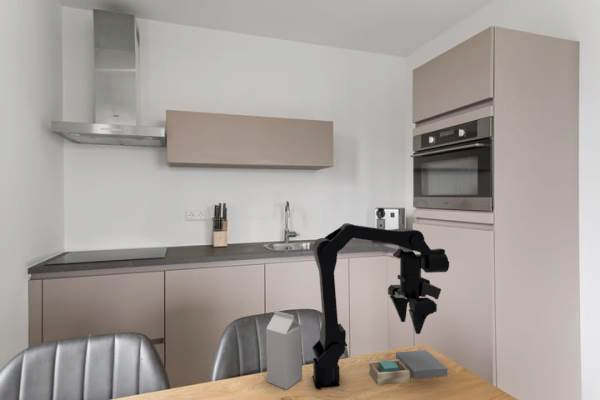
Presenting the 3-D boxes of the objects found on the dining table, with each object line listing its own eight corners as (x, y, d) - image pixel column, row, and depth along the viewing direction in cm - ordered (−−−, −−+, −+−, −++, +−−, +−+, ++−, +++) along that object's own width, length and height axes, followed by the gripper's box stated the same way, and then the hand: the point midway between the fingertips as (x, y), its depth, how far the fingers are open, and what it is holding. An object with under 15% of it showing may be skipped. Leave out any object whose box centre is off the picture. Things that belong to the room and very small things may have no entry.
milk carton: (286, 390, 91) (285, 319, 91) (266, 382, 96) (265, 314, 96) (302, 379, 97) (301, 311, 97) (283, 371, 101) (282, 307, 101)
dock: (414, 380, 95) (413, 371, 95) (396, 360, 107) (395, 352, 107) (447, 377, 97) (447, 368, 97) (426, 357, 109) (425, 349, 109)
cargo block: (384, 381, 94) (384, 368, 94) (379, 374, 98) (379, 361, 98) (398, 380, 95) (398, 367, 95) (392, 372, 99) (392, 360, 99)
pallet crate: (378, 388, 92) (378, 373, 92) (369, 375, 99) (369, 361, 99) (409, 385, 94) (409, 371, 94) (398, 373, 100) (398, 359, 100)
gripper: (455, 279, 90) (455, 339, 90) (421, 266, 109) (420, 315, 109) (415, 281, 88) (415, 341, 88) (387, 266, 107) (387, 316, 107)
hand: (410, 327), depth 98 cm, fingers open, 9 cm apart
